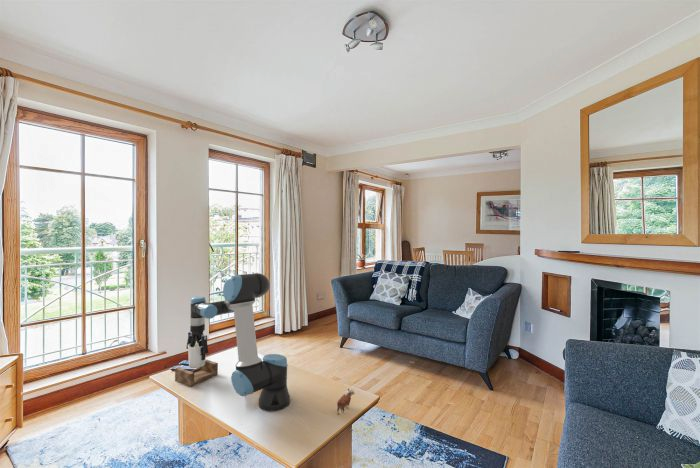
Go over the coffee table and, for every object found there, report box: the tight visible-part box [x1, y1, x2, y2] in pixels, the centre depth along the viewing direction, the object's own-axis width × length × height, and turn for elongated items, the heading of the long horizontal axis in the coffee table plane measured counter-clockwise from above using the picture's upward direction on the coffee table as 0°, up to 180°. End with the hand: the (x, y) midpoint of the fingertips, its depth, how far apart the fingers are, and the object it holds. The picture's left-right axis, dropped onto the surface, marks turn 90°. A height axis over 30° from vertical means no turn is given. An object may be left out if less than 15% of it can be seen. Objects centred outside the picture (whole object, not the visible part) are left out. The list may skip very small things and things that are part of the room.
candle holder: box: [187, 341, 207, 369], centre depth 182 cm, size 10×10×12 cm
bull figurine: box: [336, 388, 356, 414], centre depth 153 cm, size 4×13×8 cm, turn 149°
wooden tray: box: [174, 358, 219, 388], centre depth 182 cm, size 14×17×7 cm
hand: (196, 363), depth 182 cm, fingers closed on candle holder, 9 cm apart
